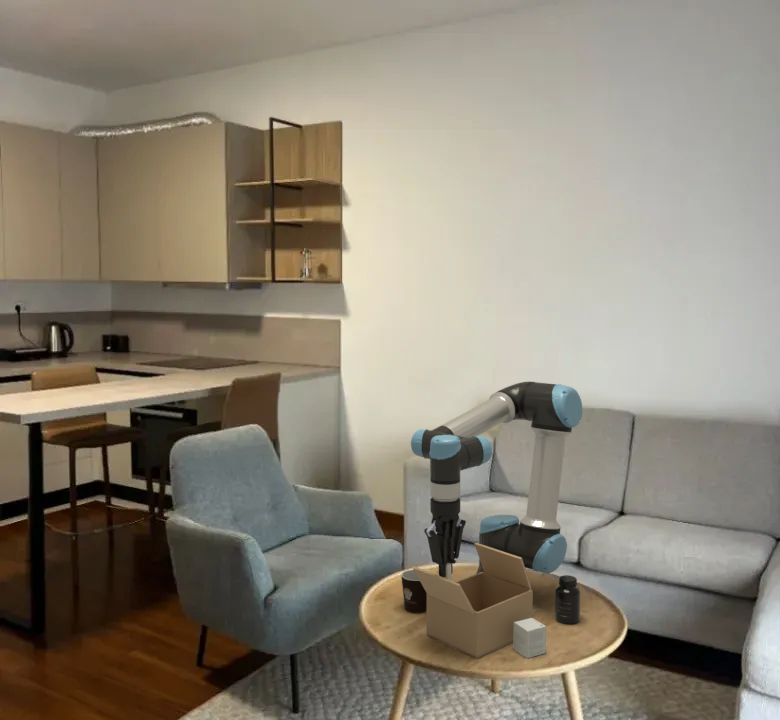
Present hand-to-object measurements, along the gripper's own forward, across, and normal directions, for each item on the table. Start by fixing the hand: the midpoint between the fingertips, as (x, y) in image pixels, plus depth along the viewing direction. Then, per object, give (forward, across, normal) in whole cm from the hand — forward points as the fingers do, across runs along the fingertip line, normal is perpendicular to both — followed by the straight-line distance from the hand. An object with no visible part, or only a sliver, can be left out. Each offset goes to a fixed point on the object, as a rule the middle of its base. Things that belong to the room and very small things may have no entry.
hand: (445, 587), depth 204 cm
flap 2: (0, -22, 0) cm, 22 cm away
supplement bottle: (+18, -38, +10) cm, 43 cm away
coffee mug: (+17, -11, -22) cm, 30 cm away
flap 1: (0, +1, 0) cm, 1 cm away
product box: (+17, -15, +15) cm, 27 cm away
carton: (+17, -13, 0) cm, 21 cm away
